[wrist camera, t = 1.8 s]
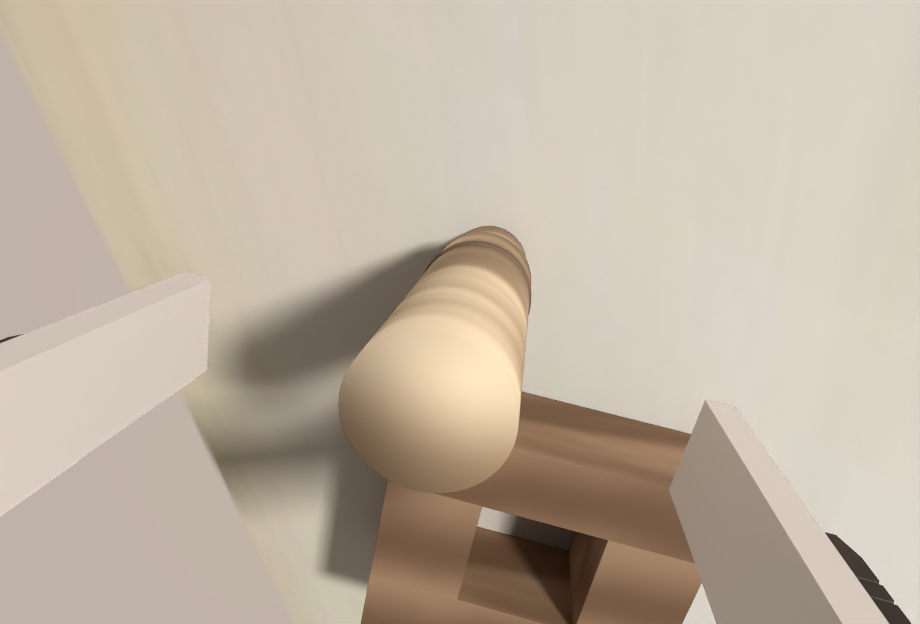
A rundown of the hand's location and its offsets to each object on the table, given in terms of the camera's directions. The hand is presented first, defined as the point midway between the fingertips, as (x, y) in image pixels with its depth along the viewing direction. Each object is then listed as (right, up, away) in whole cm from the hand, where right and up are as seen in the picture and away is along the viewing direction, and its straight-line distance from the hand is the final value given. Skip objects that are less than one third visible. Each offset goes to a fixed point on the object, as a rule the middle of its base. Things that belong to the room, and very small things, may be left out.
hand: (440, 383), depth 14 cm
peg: (+2, +4, +11) cm, 12 cm away
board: (+4, -8, +15) cm, 17 cm away
